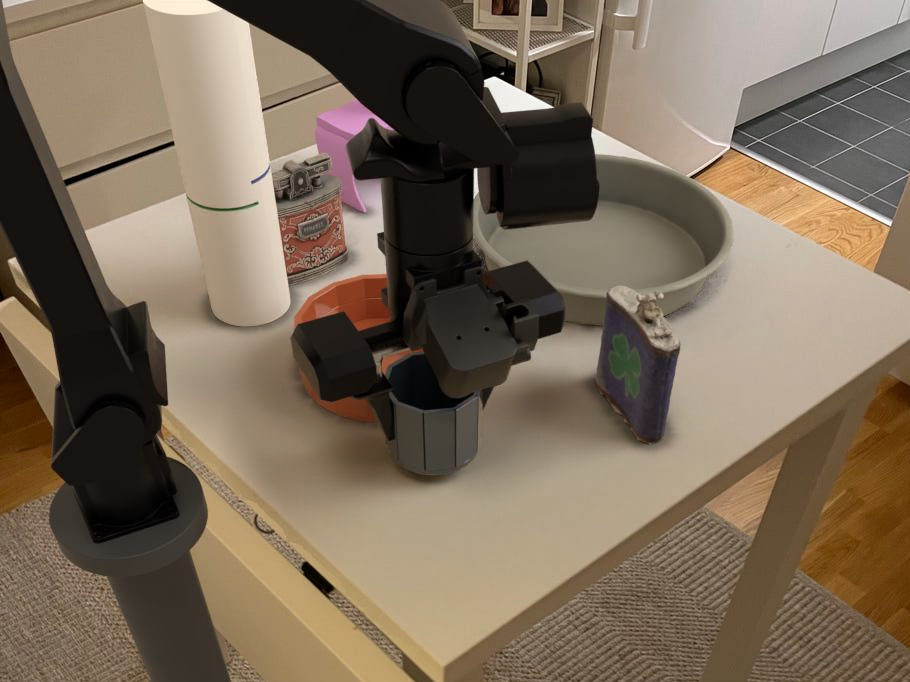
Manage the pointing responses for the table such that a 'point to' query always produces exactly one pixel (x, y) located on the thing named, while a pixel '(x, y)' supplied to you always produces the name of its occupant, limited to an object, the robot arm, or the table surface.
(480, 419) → the small bowl
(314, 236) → the lighter
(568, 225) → the cake pan
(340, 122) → the toy chair
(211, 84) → the cylindrical container
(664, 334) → the flask
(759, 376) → the table surface
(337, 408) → the orange bowl
